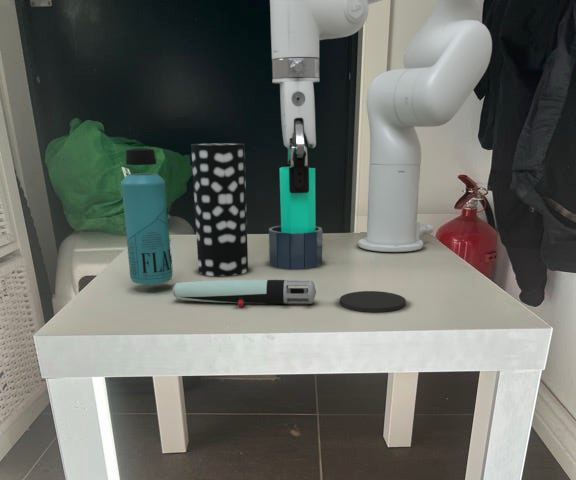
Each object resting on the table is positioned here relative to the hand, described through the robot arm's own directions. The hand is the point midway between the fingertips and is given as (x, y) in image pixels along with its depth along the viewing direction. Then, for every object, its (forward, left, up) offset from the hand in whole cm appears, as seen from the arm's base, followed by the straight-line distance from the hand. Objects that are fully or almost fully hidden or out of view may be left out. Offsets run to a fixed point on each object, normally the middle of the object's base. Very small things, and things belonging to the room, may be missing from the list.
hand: (297, 189), depth 109 cm
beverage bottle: (+29, +3, -13) cm, 31 cm away
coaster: (+7, +28, -13) cm, 31 cm away
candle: (0, 0, -7) cm, 7 cm away
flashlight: (+21, +18, -13) cm, 31 cm away
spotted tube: (+14, -2, -13) cm, 19 cm away
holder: (+1, 0, -13) cm, 13 cm away
